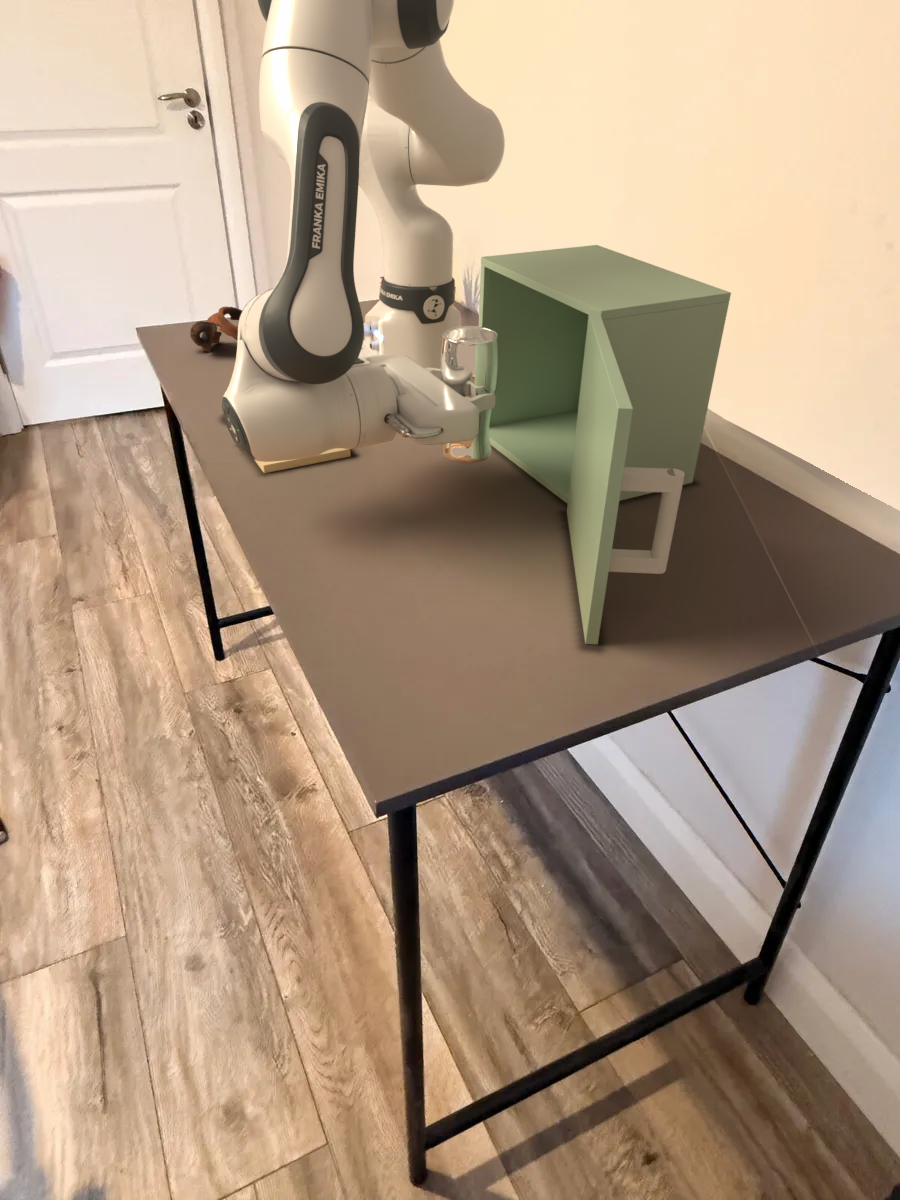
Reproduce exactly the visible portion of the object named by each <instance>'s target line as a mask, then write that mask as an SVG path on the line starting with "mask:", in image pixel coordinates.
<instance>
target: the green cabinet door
mask: <svg viewBox="0 0 900 1200" xmlns="http://www.w3.org/2000/svg"><path fill="white" fill-rule="evenodd" d="M632 413H633V407H632V404H631V401H630V399H629V396H628V393H627V390H626V387H625V384H624V381H623V378H622V375H621V373H620V370H619V367H618V364H617V361H616V358H615V355H614V352H613V349H612V347H611V344H610V341H609V338H608V335H607V332H606V329H605V326H604V323H603V321H602V318H601V315H600V314H594V313H589V317H588V326H587V335H586V344H585V353H584V362H583V371H582V380H581V389H580V398H579V407H578V416H577V425H576V434H575V443H574V452H573V461H572V470H571V479H570V488H569V497H568V504H567V506H566V507H567V508H566V517H567V523H568V531H569V537H570V546H571V552H572V559H573V566H574V574H575V580H576V588H577V589H576V590H577V595H578V603H579V610H580V616H581V624H582V630H583V631H582V632H583V638H584V644H585V645H599V638H600V633H601V632H600V631H601V626H602V618H603V611H604V605H605V599H606V593H607V585H608V579H609V578H608V577H609V574H610V573H630V574H631V573H632V574H654V575H655V574H656V575H662V574H664V573H666V571H667V566H668V562H669V556H670V553H671V552H670V551H671V547H672V542H673V537H674V532H675V525H676V521H677V516H678V510H679V505H680V500H681V496H682V490H683V486H684V485H683V480H684V475H685V474H684V472H683V471H681V470H679V469H664V468H637V467H624V466H625V460H626V453H627V446H628V440H629V433H630V426H631V420H632ZM621 491H639V492H653V493H661V497H660V502H659V507H658V512H657V519H656V524H655V529H654V535H653V541H652V546H651V550H647V549H646V550H644V549H624V548H623V549H621V548H613V544H614V539H615V532H616V526H617V525H616V524H617V519H618V513H619V505H620V501H619V500H620V493H621Z"/></svg>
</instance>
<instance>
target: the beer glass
mask: <svg viewBox="0 0 900 1200" xmlns="http://www.w3.org/2000/svg"><path fill="white" fill-rule="evenodd" d="M440 369H441V381H442V382H444V383H445V384H446V385H448V386H449V387H451V388H452V389H453V390H455V391H456V392H457V393H459V394H460V395H462V396H463V397H469V398H472V397H475V396H476V392H481V391H489V392H490V393H492V394H494V395H496V391H497V385H498V377H499V334H498V333H497V332H496V331H494V330H492V329H489V328H485V327H479V325H461V326H459V327H453V328H450V329H447V330H446V331H444V333H443V342H442V352H441V368H440ZM491 413H492V409H489V410H484V411H482V412H480V413H479V430H478V434H477V436H476V437H474V438H473V439H472V440H468V441H462V442H455V443H447V444H443V445H442V446H443V447H442V455H443V456H444V457H445V458H446V459H447V460H449V461H452V462H455V463H459V464H477V463H478V464H479V463H482V462H485V461H486V460H488V459H489V458H490V457H491V454H492V445H490V439H489V423H490V417H491Z"/></svg>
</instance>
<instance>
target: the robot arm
mask: <svg viewBox="0 0 900 1200" xmlns="http://www.w3.org/2000/svg"><path fill="white" fill-rule="evenodd" d="M257 3H258V6H259V11H260V12H261V15H262V17H263V19H264V20H265V22H266V24H265V31H264V36H263V43H262V45H263V46H262V52H261V61H260V68H259V71H260V72H259V82H258V104H259V107H258V108H259V118H260V119H259V122H260V130H261V133H262V134H263V137H264V139H265V141H266V142H267V144H268V145H269V146H270V148H271V149H272V150H273V152H275V154H276V155H278V157H279V158H281V159H282V160H284V161H285V162H286V164H287V166H288V169H289V173H290V180H291V183H290V184H291V190H290V191H291V192H290V208H289V223H288V238H287V251H286V252H287V253H286V261H285V265H284V269H283V271H282V273H281V276H280V278H279V279H278V281H277V283H276V284H275V285H274V287H272V288H270V289H268V290H265V291H263V292H261V293H258V294H256V295H255V296H254V297H252V298H251V299H250V300H249V301H248V302H247V303H246V304H245V306H244V307H243V309H241V310H242V312H241V315H240V317H239V320H237V327H238V329H237V332H238V340H236V341H237V343H236V354H235V360H234V361H235V363H234V366H233V370H232V374H231V378H230V380H229V383H228V384H229V385H228V386H227V389H226V390H225V392H224V394H223V395H222V397H221V410H222V414H223V418H224V419H223V420H224V422H225V425H226V428H227V430H228V432H229V434H230V437H231V438H232V440H233V442H234V443H235V444H236V447H237V448H238V449H239V451H241V452H242V454H244V455H245V456H247V457H248V458H250V459H251V460H253V461H255V460H256V461H262V462H273V461H285V460H293V459H300V458H306V457H312V456H316V455H319V454H322V453H323V452H325V451H327V450H330V449H334V448H343V449H350V450H351V449H358V448H364V447H368V446H372V445H378V444H384V443H389V442H392V441H393V440H394V439H395V438H396V435H397V434H398V435H399V436H400V437H403V438H406V439H407V438H409V440H411V441H412V442H414V443H416V444H419V445H423V446H438V445H444V444H447V443H455V442H462V441H468V440H472V439H473V438H474V437H476V436H477V434H478V430H479V413H480V412H482V411H484V410H489V409H493V408H494V406H495V395H494V394H492V393H490V392H489V391H481V392H476V396H475V397H472V398H469V397H463V396H462V395H460V394H459V393H457V392H456V391H455V390H453V389H452V388H451V387H449V386H448V385H446V384H445V383H444V382H442V381H441V369H440V368H441V352H442V342H443V333H444V331H446V330H447V329H450V328H453V327H459V326H462V318H461V317H462V315H461V311H460V310H459V309H458V308H457V307H456V306H455V305H454V303H455V302H456V293H457V292H456V291H457V290H456V279H455V278H454V276H453V267H454V266H453V263H454V261H453V260H454V233H453V229H452V226H451V225H450V223H449V221H448V220H447V219H446V218H445V217H444V216H443V215H442V214H440V213H439V212H438V211H436V210H434V209H432V208H431V207H429V206H428V205H426V204H425V203H424V201H423V200H422V198H421V197H420V195H419V193H418V189H417V185H421V186H422V185H424V186H441V187H464V186H471V185H477V184H482V183H488V182H489V181H490V180H491V179H492V178H493V177H494V176H495V175H496V173H497V171H498V170H499V168H500V166H501V164H502V161H503V158H504V155H505V145H506V144H505V143H506V142H505V139H506V138H505V133H504V129H503V126H502V123H501V121H500V119H499V118H498V116H497V114H496V113H495V112H494V110H493V109H491V108H489V107H488V106H485V105H483V104H482V103H480V102H478V101H477V100H476V99H474V98H473V97H472V96H471V95H470V94H468V92H466V90H465V89H463V87H462V86H460V84H459V83H458V82H457V81H456V79H455V77H454V76H453V75H452V73H451V72H450V70H449V67H448V66H447V63H446V61H445V57H444V53H443V49H442V45H441V40H440V39H441V38H442V37H443V36H444V34H445V33H446V32H447V30H448V27H449V23H450V19H451V16H452V12H453V8H454V4H455V0H257ZM368 98H369V99H368ZM359 187H360V188H361V190H362V191H363V193H364V194H365V195H366V197H367V198H368V200H369V202H370V204H371V206H372V208H373V210H374V212H375V215H376V218H377V221H378V226H379V230H380V236H381V237H380V238H381V247H382V259H383V276H380V277H379V279H381V281H380V283H379V284H380V285H379V294H378V299H379V300H378V301H377V303H376V304H374V305H373V307H372V308H371V309H369V311H368V312H366V314H365V316H364V317H363V313H362V308H361V305H360V301H359V296H358V292H357V289H356V283H355V274H354V273H355V271H354V268H355V267H354V266H355V262H354V261H355V247H356V246H355V245H356V231H357V217H358V216H357V215H358V214H357V213H358V199H359ZM256 461H255V462H256Z"/></svg>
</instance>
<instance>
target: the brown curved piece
mask: <svg viewBox="0 0 900 1200" xmlns="http://www.w3.org/2000/svg"><path fill="white" fill-rule="evenodd" d="M242 310H243V309H240V308H237V307H234V306H222V307H220V308H219V309H218V312H216V313H212V314H211V315H210V316H209V317H208V318H207V320H206V321H203V320H199V321H196V322H195V323H194V324H192V326H191V327H190V330H189V333H190V335H189V336H190V339H191V341H192V342H193V343H194V344H195V345H197V346H198V347H201V352H202V353H205V352H208V353H211V352H212V346H213V344H216V345H217V344H220V340H221V336H222V334H223V333H224V334H225V335H227V336H229V337H232V338H233V339H234V340H236V341H237V340H238V332H237V329H238V326H237V325H235V324H233V323H232V322H231V321H239V317H240V315H241V312H242ZM226 315H229V316H230V319H229V320H228V319H227V318H226ZM230 320H231V321H230ZM218 327H219V329H218ZM218 330H219V331H218ZM201 333H202V334H201Z"/></svg>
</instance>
